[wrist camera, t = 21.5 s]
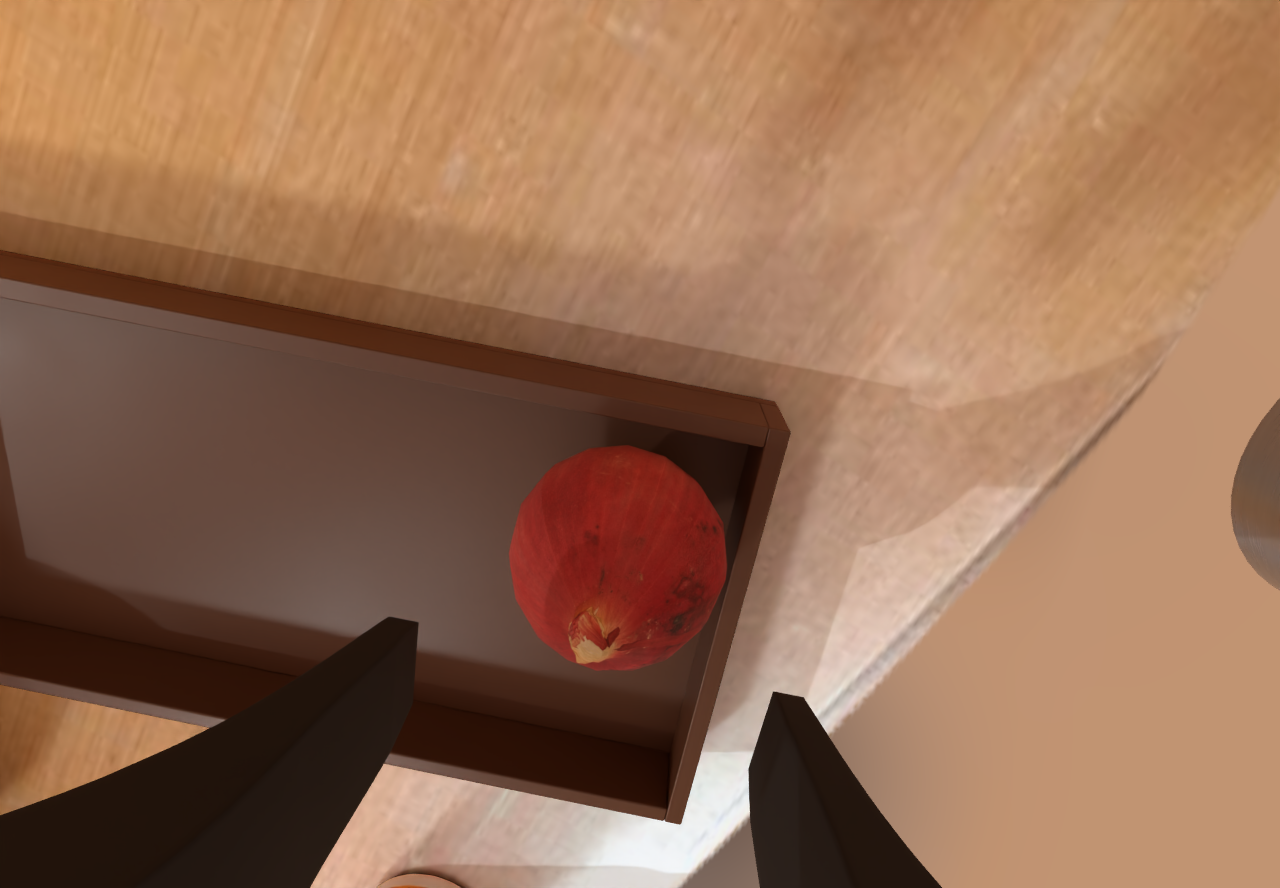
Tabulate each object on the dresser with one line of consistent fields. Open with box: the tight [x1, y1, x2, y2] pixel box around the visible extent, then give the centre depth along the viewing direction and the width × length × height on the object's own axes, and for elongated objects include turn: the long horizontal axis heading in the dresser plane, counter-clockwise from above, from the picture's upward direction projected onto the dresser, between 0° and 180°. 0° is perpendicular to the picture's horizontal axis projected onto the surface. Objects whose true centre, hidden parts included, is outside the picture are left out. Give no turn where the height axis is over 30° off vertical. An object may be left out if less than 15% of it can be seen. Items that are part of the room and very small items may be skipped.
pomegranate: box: [509, 445, 727, 671], centre depth 16 cm, size 6×6×8 cm
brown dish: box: [0, 250, 790, 824], centre depth 21 cm, size 30×15×3 cm, turn 80°
